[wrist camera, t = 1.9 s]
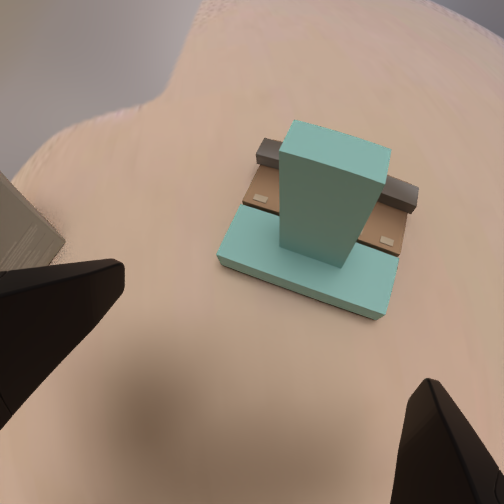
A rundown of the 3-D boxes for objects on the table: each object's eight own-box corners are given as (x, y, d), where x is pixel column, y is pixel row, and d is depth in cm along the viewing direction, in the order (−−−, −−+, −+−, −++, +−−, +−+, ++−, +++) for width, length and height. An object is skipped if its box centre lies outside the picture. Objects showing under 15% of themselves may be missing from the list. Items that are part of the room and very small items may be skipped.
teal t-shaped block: (376, 320, 20) (463, 261, 9) (221, 264, 23) (173, 165, 12) (390, 267, 22) (466, 177, 11) (243, 217, 24) (218, 101, 13)
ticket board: (393, 266, 22) (409, 249, 19) (241, 214, 25) (236, 190, 21) (405, 200, 24) (419, 176, 21) (270, 155, 27) (269, 128, 23)
